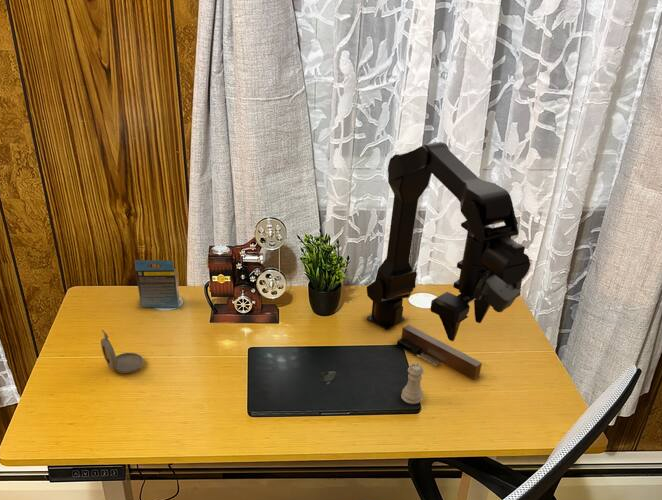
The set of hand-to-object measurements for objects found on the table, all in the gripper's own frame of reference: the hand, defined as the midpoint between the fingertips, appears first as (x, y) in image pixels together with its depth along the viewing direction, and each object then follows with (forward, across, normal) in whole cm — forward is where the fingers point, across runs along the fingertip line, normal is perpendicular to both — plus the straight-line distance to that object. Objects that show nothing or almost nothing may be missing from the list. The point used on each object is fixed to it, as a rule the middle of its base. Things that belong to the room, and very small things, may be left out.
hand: (464, 331), depth 148 cm
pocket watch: (+14, -45, +54) cm, 71 cm away
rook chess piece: (+14, -9, +4) cm, 17 cm away
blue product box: (+14, -23, +68) cm, 73 cm away
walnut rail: (+14, +6, +8) cm, 17 cm away
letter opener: (+14, +4, +12) cm, 19 cm away
